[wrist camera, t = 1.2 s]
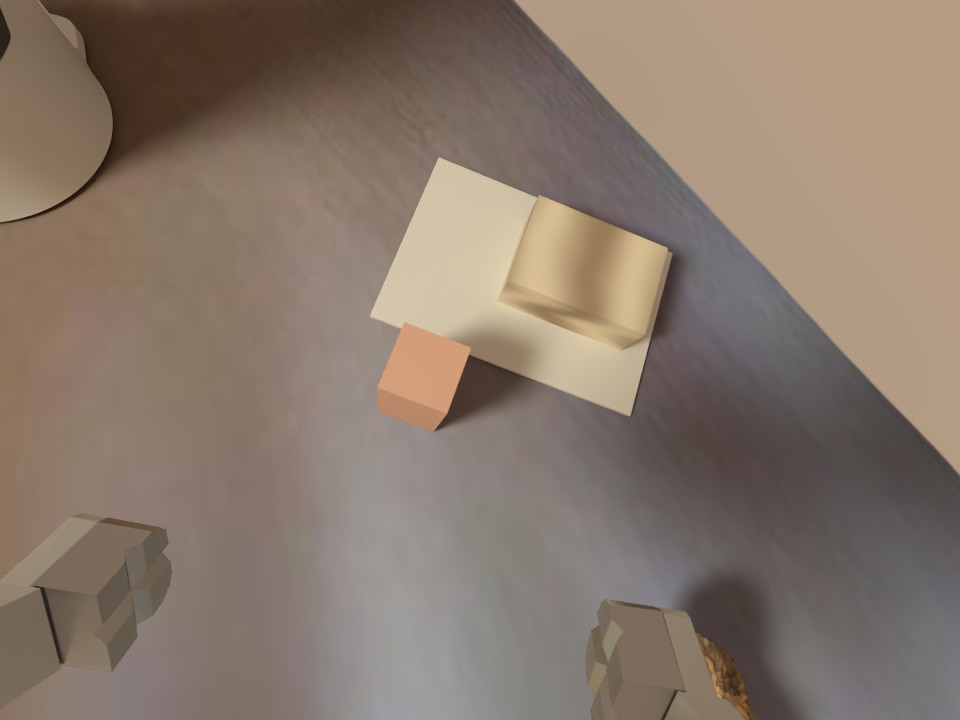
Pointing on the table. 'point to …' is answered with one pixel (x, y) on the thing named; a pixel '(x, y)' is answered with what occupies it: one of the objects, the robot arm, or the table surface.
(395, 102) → the table surface
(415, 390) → the pillar
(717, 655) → the lion figurine
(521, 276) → the plinth
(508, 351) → the mat
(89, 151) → the robot arm
